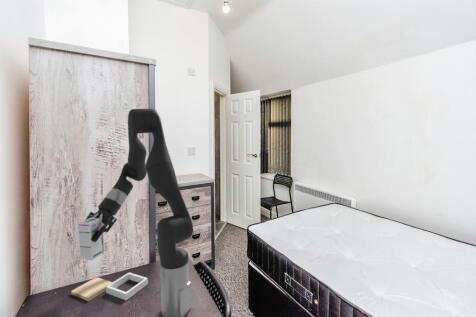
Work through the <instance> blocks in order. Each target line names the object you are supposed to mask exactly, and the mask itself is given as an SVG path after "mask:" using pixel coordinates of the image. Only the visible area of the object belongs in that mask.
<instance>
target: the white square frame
mask: <svg viewBox="0 0 476 317" xmlns="http://www.w3.org/2000/svg"><path fill="white" fill-rule="evenodd" d="M127 281H132V282H135V283H137V284H135V285H134V286H133V287H131V288H130V289H128V290H127V291H124V290H121V289H119V287H120V286H121V285H123V284H124V283H126V282H127ZM112 282H113V283H111V284H110V285H108V286H107V287H106V290H105V292H106V294H108V295H111V296H112V297H116V298H119V299H121V300H124V301H127V300H129V299H131V298H132V297H133V296H135V294H137V293H138V292H140V290H143V288H145V287H146V286H147V285H148V284H149V278H148V277H146V276H142V275H139V274H135V273H132V272H127V273H125V274H124V275H122V276H121V277H119V278H117V279H116V280H114V281H112Z"/></svg>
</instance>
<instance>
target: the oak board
mask: <svg viewBox="0 0 476 317" xmlns="http://www.w3.org/2000/svg"><path fill="white" fill-rule="evenodd" d="M113 282H114V281H110V280H107V279H103V278H101V277H97V276H96V277H93V278H92V279H90V280H88V281H86V282H85V283H84V284H82V285H79V286H77V287H76V288H74V289H72V290H71V291H70V294H71V295H72V296H74V297H77V298H80V299H83V300H85V301H87V302H90V301H91V300H93V299H94V298H96V297H97V296H99V295H101V294H103V293H104V292H106V287H107V286H108V285H110V284H111V283H113Z"/></svg>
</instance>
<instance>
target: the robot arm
mask: <svg viewBox="0 0 476 317" xmlns="http://www.w3.org/2000/svg"><path fill="white" fill-rule="evenodd" d="M150 133H151V134H152V136H153V138H152V139H153V142H152V147H151V150H150V152H149V154H148V156H147V149H146V146H145V145H144V143H143V142H142V141H141V139H140V138H139V137H138V136H139V134H150ZM127 134H128V155H127V162H126V163H124V165H123V166H122V169H121V173H120V175H119V177H118V179H117V181H116V182H115V184H114V185H113V187H112V188H111V189H110V191H108V192H107V193H106V195H105V196H104V198H103V200H102V201H101V202H100V204H98V206H97V208H98V210H97V211H96V212H93V211H90V212H89V213H88V215H87V217H86V218H85V219H84V220H86V219H89V218H100V219H101V220H100V222H99V223H98V225H99V226H98V231H96V232H95V234H94V235H93V236H92V238H91V241H93V242H96V241H97V240H98V239H99V237H100V236H101V234H102V233H103V234H104V233H109V231H110V230H111V228H112V227H113V226H114V224H115V223H116V222H117V221H118V218H117V217H116V215H117V213H118V212H119V210H120V209H121V207H122V206H123V205H124V203H125V202H126V199H127V198H128V196H129V195H130V193H131V191H132V190H133V188H134V185H133V183H132V182H131V181H130V180H128V179H127V178H129V179H131V180H134V181H136V182H141V181H143V180H145V178H146V176H147V178H148V181H149V183H150V186H151V187H152V189H154V190H155V191H156V192H157V193H158V194H159V195H160V197H162V198H163V200H165V201H166V202H167V204H168V205H169V207H170V210H171V213H172V215H171V216H166V217H164V218H161V219H160V220H159V222H157V223H158V224H157V226H156V236H157V238H156V239H157V246H158V247H157V248H158V250H157V251H158V256H159V261H160V262H159V264H160V266H159V267H160V303H161V305H160V307H161V316H162V317H185V316H186V314H188V312H190V310H191V309H192V282H191V281H189V253H188V251H187V250H186V249H184V248H177V247H176V244H178V243H179V244H180V243H181V242H184V241H187V240H189V239H190V238H191V237H192V236H193V234H194V225H193V222H192V218H191V215H190V212H189V210H188V208H187V206H186V203H185V201H184V198H183V196H182V192H181V190H180V186H179V183H178V179H177V175H176V171H175V168H174V165H173V162H172V158H171V156H170V153H169V150H168V147H167V142H166V139H165V134H164V129H163V124H162V119H161V116H160V113H159V111H158V110H157V109H154V108H132V109H130V110H129V112H128V115H127ZM146 157H147V160H146Z"/></svg>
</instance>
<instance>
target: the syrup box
mask: <svg viewBox="0 0 476 317" xmlns="http://www.w3.org/2000/svg"><path fill="white" fill-rule="evenodd" d="M85 219H86V218H85ZM85 219H84V220H82V221H79V222H78V223H77V231H78V232H77V233H78V234H77V235H78V245H79V246H78V247H79V259H82V260H85V261H86V260H88V261H93V260H95V259H96V258H98V257H99V256H101V255H103V254H104V253H105V248H104V247H105V246H104V233H102V234H101V236H100V237H99V239H98V240H97V241H96V242H93V241H91V238H92V236H93V235H94V234H95V232H96V231H98V226H99V225H98V223H99V222H100V220H101V219H100V218H89V219H86V220H85Z"/></svg>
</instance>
